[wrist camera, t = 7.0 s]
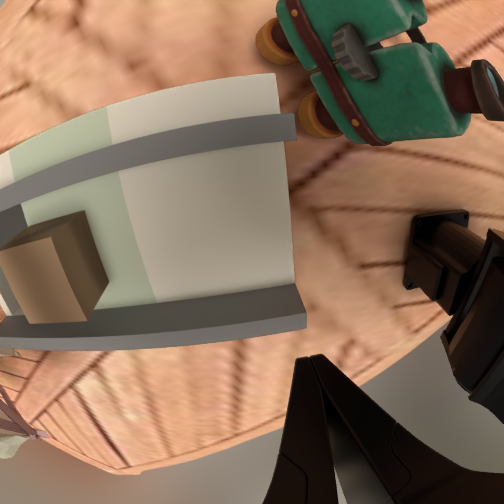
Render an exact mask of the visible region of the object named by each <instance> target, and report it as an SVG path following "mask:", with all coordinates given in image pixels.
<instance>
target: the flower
mask: <svg viewBox="0 0 504 504" xmlns="http://www.w3.org/2000/svg"><path fill="white" fill-rule="evenodd" d="M12 355H16V356H20V355H19V354H18V353H17V352H16V351H14V349H12V348H0V357H4V356H12ZM20 357H21V356H20ZM0 393H1V395H2V396H3V398H4V400H5V401H6V403H7V405H8V406H7V405H6V404H5V403H4V402H3V401H2V400H1V399H0V409H1V410H2V411H3V412H4V413H5V414H6V415H7V416H8V417H9V418H10V419H11V420H12V421H13V422H11V421H7V420H5V419H2V418H0V428H2V429H5V430H9V431H14V432H18V433H23V434H27V435H10V434H1V433H0V458H4V459H6V458H10V457H13V456H14V454H15V453H16V451H17V449H18V448H19V446H20V445H21V444H22V443H24V442H25V441H26V440H28V439H29V438H30V439H31V440H32V439H36V438H37V439H39V438H38V437H37V436H39V437H45V438H49V436H48V434H47V433H46V431H42V430H38V429H34V428H32V427H31V426H30V425H28V424H27V423H26V422H25V420H24V419H23V418H22V416H21V415H20V413H19V412H18V410H17V409H16V407H15V406H14V404H13V403H12V401H11V400H10V398H9V396H8V395H7V393H6V391H5V390H4V389H3V387H2V386H1V384H0Z"/></svg>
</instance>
